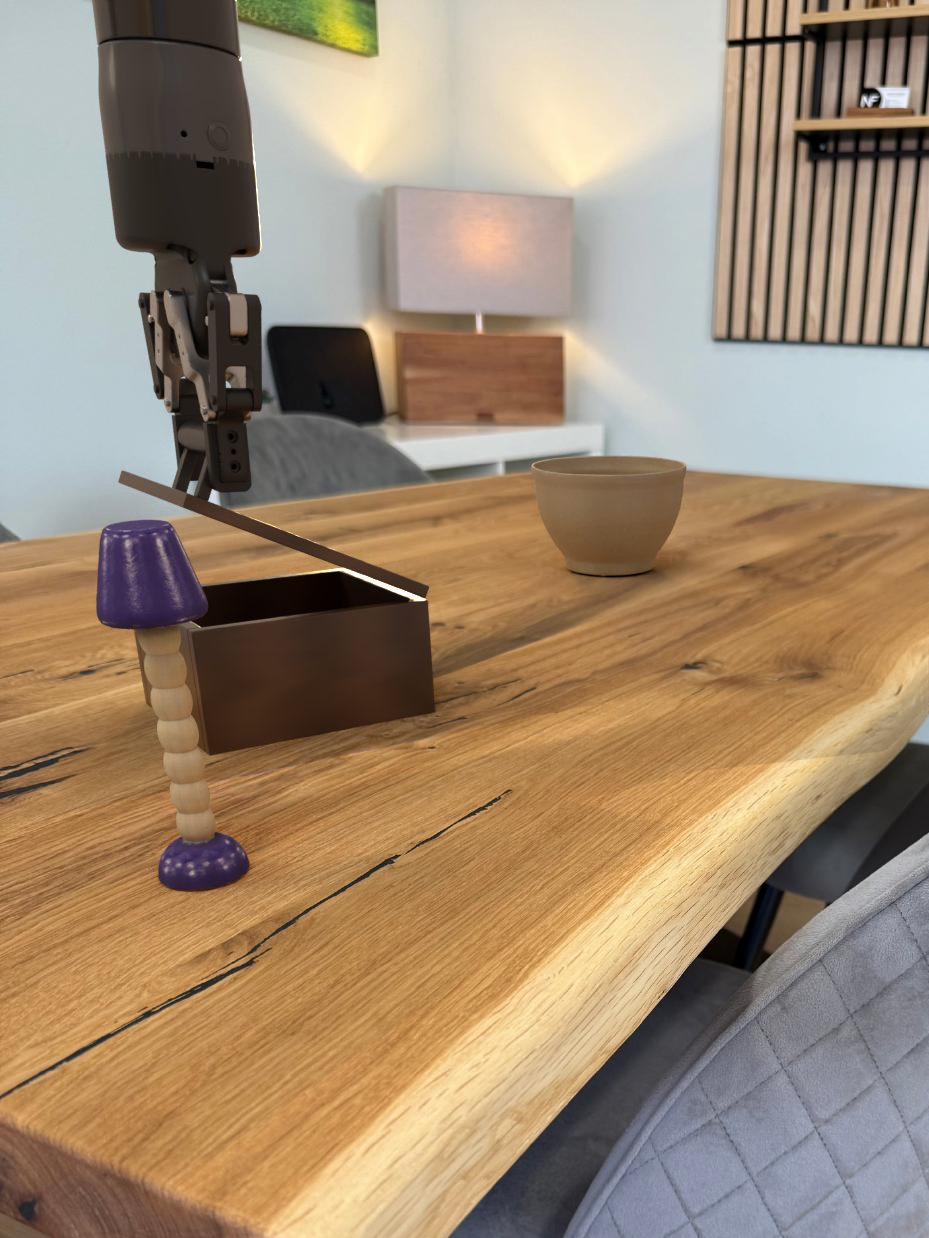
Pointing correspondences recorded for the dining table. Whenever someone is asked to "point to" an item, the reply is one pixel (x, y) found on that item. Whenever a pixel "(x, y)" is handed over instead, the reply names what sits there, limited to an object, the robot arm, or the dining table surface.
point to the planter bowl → (609, 509)
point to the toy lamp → (168, 686)
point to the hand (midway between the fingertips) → (214, 484)
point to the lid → (199, 503)
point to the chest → (303, 658)
